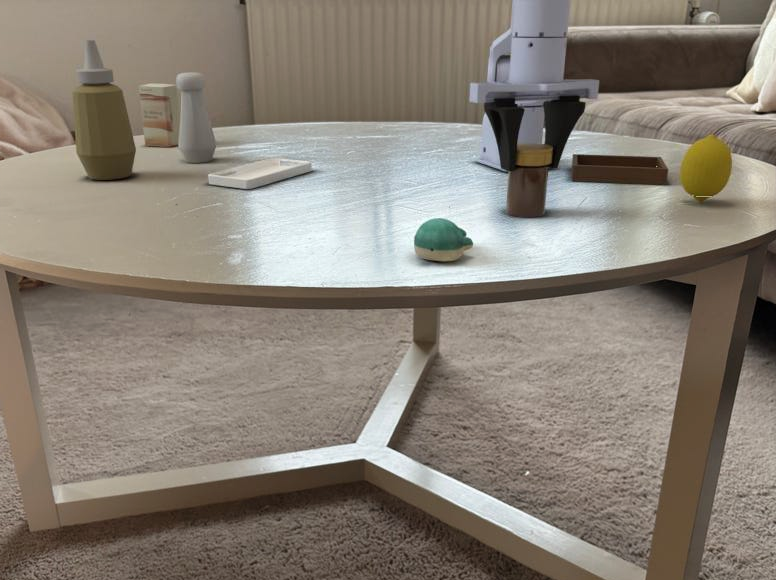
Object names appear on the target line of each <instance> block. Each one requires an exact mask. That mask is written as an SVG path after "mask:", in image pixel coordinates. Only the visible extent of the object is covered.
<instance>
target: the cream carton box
mask: <svg viewBox="0 0 776 580" xmlns="http://www.w3.org/2000/svg"><path fill="white" fill-rule="evenodd" d="M138 91H139V101H140V109H141V119H142V129H143V130H142V131H143V135H144V136H143V138H144V145H145V146H147V147H148V146H149V147H159V148H161V147H162V148H171V147H174V146H178V143H179V130H180V112H179V111H180V110H179V101H178V100H179V99H178V88H177V84H170V83H152V82H151V83H146V84H140V85H138Z"/></svg>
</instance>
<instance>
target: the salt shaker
mask: <svg viewBox="0 0 776 580" xmlns="http://www.w3.org/2000/svg"><path fill="white" fill-rule="evenodd" d="M205 77H206V76H204V75H203V74H202V73H200V72H195V71H193V72H192V71H191V72H189V71H188V72H181V73H178V74H177V76H176V77H175V78H176V80H175V81H176V87H177V90H180V91H181V96H180V98H181V99H180V115H179V121H180V130H179V143H178V145H177V146H178V150H179V152H180V153H181V155H182V157H183V159H184V160H185V162H186V163H190V164H191V163H192V164H201V163H209V162H211V161H212V160H213V158H214V154H215V152H216V148H217V141H216V138H215V133H214V130H213V126H212V123H211V118H210V114H209V111H208V107H207V104H206V100H205V97H204V93H203V90H204V89H205V88H206V78H205Z"/></svg>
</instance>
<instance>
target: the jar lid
mask: <svg viewBox="0 0 776 580" xmlns="http://www.w3.org/2000/svg"><path fill="white" fill-rule="evenodd" d="M552 153H553V147H552V146H550V145H547V144H545V143H542V144H539V143H517V157H516V165H524V166H541V165H548V164H550V163H552Z"/></svg>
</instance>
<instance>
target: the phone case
mask: <svg viewBox="0 0 776 580" xmlns="http://www.w3.org/2000/svg"><path fill="white" fill-rule="evenodd" d="M282 162H291V163H300V164H297V165H294V166H293V165H286V164H285V165H284V164H282ZM312 165H313V163H312V161H308V160H300V159H289V158H282V157H281V158H278V157H271V158H267V159H262V160H259V161H255V162H250V163H247V164H243V165H239V166H235V167H231V168H227V169H223V170H220V171H215V172H212V173H209V174H208V175H207V178H208V185H212V186H220V187H226V188H227V187H229V188H235V189H236V188H237V189H243V190H252V189H255V188H260V187H262V186H265V185H269V184H273V183H276V182H279V181H283V180H285V179H290V178H293V177H296V176H299V175H302V174H307V173H310V172H312V171H313V167H312ZM232 172H234V173H232ZM228 173H232V174H228ZM224 174H228V175H224Z"/></svg>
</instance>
